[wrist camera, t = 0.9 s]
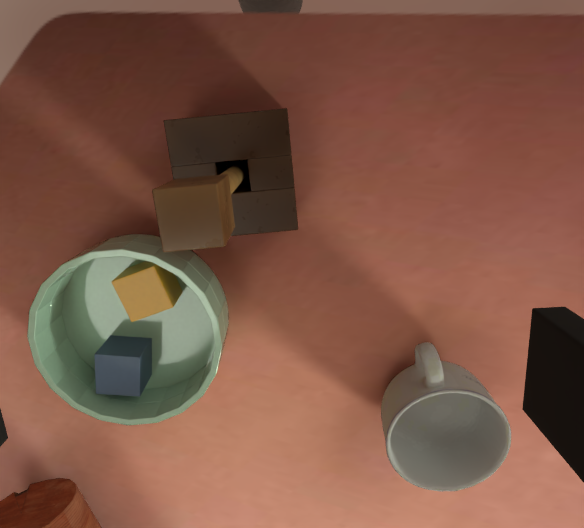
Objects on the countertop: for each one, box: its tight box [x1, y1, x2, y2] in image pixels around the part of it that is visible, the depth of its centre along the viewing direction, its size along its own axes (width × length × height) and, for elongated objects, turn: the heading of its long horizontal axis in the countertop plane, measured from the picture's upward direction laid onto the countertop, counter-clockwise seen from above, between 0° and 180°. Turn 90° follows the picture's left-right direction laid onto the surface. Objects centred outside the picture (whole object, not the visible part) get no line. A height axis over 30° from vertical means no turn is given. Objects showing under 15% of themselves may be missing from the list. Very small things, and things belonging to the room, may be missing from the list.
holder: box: [164, 108, 298, 236], centre depth 39 cm, size 9×9×7 cm
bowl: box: [27, 234, 229, 425], centre depth 43 cm, size 16×16×6 cm
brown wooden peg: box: [152, 162, 249, 252], centre depth 30 cm, size 3×3×24 cm
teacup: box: [381, 342, 511, 491], centre depth 44 cm, size 14×11×8 cm
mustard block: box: [111, 261, 183, 322], centre depth 42 cm, size 4×4×4 cm
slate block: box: [94, 335, 152, 397], centre depth 44 cm, size 4×4×4 cm
